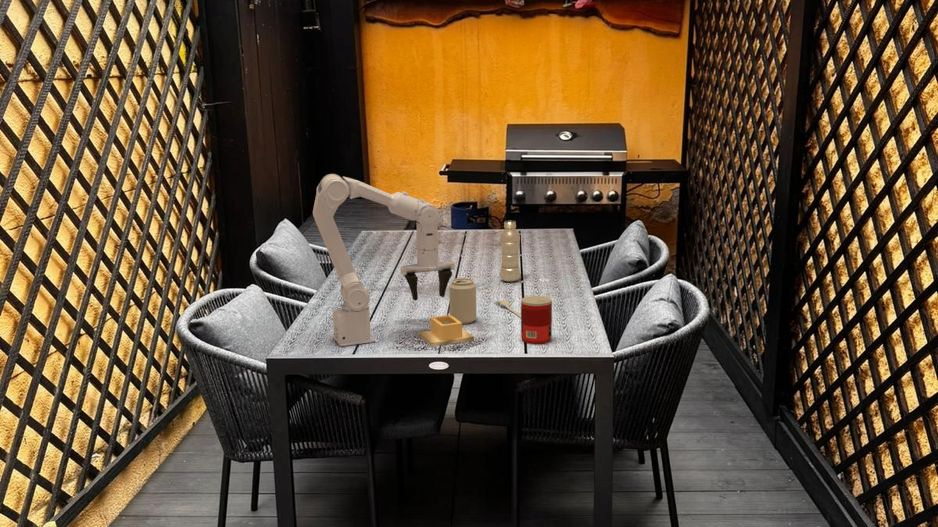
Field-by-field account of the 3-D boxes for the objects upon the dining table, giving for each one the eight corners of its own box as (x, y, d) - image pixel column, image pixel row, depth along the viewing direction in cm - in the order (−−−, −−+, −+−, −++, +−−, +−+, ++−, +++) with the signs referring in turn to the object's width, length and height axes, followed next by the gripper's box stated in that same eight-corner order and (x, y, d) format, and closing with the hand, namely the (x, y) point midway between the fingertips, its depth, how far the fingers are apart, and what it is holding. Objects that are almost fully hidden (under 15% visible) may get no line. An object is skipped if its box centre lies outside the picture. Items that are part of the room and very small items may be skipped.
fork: (523, 329, 249) (523, 320, 248) (491, 303, 267) (491, 295, 266) (531, 328, 250) (532, 319, 249) (499, 302, 268) (500, 294, 267)
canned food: (556, 342, 229) (556, 301, 226) (527, 346, 226) (527, 304, 224) (545, 334, 236) (545, 294, 233) (517, 337, 234) (517, 297, 231)
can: (461, 315, 254) (460, 275, 251) (481, 320, 249) (481, 279, 246) (444, 321, 248) (443, 280, 245) (464, 326, 244) (464, 284, 241)
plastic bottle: (498, 279, 294) (498, 220, 290) (518, 278, 295) (518, 219, 290) (501, 284, 288) (500, 223, 284) (521, 283, 289) (521, 223, 284)
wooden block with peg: (431, 346, 227) (430, 330, 226) (418, 335, 236) (418, 319, 235) (474, 340, 231) (473, 324, 230) (459, 330, 240) (459, 314, 239)
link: (441, 340, 228) (441, 325, 228) (430, 331, 236) (430, 317, 235) (462, 337, 231) (462, 323, 230) (450, 328, 238) (450, 314, 237)
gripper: (405, 253, 227) (407, 304, 230) (458, 248, 232) (459, 298, 235) (397, 248, 233) (399, 297, 236) (449, 243, 238) (449, 292, 241)
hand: (428, 297), depth 236 cm, fingers open, 7 cm apart
